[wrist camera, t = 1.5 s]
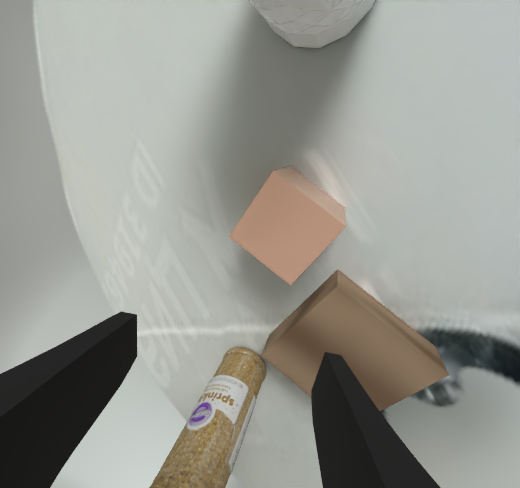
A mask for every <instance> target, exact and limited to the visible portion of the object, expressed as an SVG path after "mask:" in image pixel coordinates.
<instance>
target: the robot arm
mask: <svg viewBox="0 0 520 488" xmlns="http://www.w3.org/2000/svg"><path fill="white" fill-rule="evenodd" d="M136 357H137V315H136V314H131V313H125V312H120V313H118V314H116V315H114V316H112V317H110V318H108V319H106V320H104V321H103V322H101V323H99V324H97V325H95V326H93V327H92V328H90V329H88V330H86V331H85V332H83V333H81V334H79V335H77V336H75V337H73V338H71V339H70V340H67V341H66V342H64V343H62V344H60V345H58V346H56V347H54V348H52V349H50V350H48V351H46V352H44V353H42V354H40V355H38V356H36V357H34V358H33V359H30V360H28V361H26V362H24V363H22V364H20V365H18V366H16V367H14V368H12V369H10V370H8V371H6V372H3V373H2V374H0V488H50V487H51V485H52V483H53V482H54V480H55V479H56V477H57V475H58V474H59V472H60V471H61V469H62V467H63V466H64V464H65V463H66V461H67V460H68V459H69V457H70V456H71V454H72V453H73V451H74V450H75V448H76V447H77V446H78V444H79V443H80V441H81V440H82V439H83V437H84V436H85V435H86V433H87V432H88V430H89V429H90V428H91V426H92V425H93V423H94V422H95V421H96V419H97V418H98V416H99V415H100V414H101V412H102V411H103V409H104V408H105V407H106V405H107V404H108V402H109V401H110V399H111V398H112V397H113V395H114V394H115V392H116V391H117V390H118V388H119V387H120V385H121V384H122V382H123V380H124V378H125V377H126V375H127V373H128V372H129V370H130V368H131V366H132V364H133V363H134V361H135V359H136ZM311 396H312V416H313V426H314V433H315V439H316V446H317V452H318V459H319V465H320V471H321V478H322V484H323V488H440V487H439V486H438V485H437V483H436V482H435V481H434V480H433V479H432V477H431V476H430V475H429V474H428V473H427V471H426V470H425V469H424V468H423V467H422V465H421V464H420V463H419V462H418V461H417V459H416V458H415V457H414V456H413V454H412V453H411V452H410V451H409V449H408V448H407V447H406V445H405V444H404V443H403V442H402V440H401V439H400V438H399V436H398V435H397V434H396V433H395V431H394V430H393V429H392V427H391V426H390V425H389V423H388V422H387V421H386V419H385V418H384V417H383V415H382V414H381V412H380V411H379V410H378V408H377V407H376V405H375V404H374V403H373V401H372V400H371V398H370V397H369V395H368V394H367V393H366V391H365V390H364V388H363V387H362V385H361V384H360V382H359V381H358V379H357V378H356V376H355V375H354V373H353V372H352V370H351V369H350V367H349V366H348V364H347V363H346V361H345V360H344V359H343V357H342V356H341V355H338V354H333V353H328V352H325V353H324V356H323V359H322V362H321V365H320V367H319V370H318V373H317V376H316V379H315V382H314V384H313V387H312V390H311Z"/></svg>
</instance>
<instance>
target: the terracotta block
mask: <svg viewBox="0 0 520 488" xmlns="http://www.w3.org/2000/svg"><path fill="white" fill-rule="evenodd" d="M345 227H346V219H345V207H344V206H342V205H341V204H340V203H338V202H337V201H336V200H334V199H333V198H332V197H331V196H329V195H328V194H327V193H325V192H324V191H323V190H322V189H320V188H319V187H318V186H316V185H315V184H314V183H313V182H311V181H310V180H309V179H307V178H306V177H305V176H303V175H302V174H301V173H300V172H298V171H297V170H296V169H294V168H293V167H292V166H290V167H285V168H281V169H276V170H273V171H272V173H271V174H270V176H269V177H268V179H267V180H266V182H265V183H264V185H263V186H262V188H261V189H260V191H259V192H258V194H257V195H256V197H255V198H254V200H253V201H252V203H251V204H250V206H249V207H248V209H247V210H246V212H245V213H244V215H243V216H242V218H241V219H240V221H239V222H238V224H237V225H236V227H235V228H234V230H233V231H232V233H231V234H230V235H229V237H230V238H231V239H233V240H234V241H235V242H237V243H238V244H239V245H240V246H242V247H243V248H244V249H245V250H247V251H248V252H249V253H250V254H252V255H253V256H254V257H255V258H257V259H258V260H259V261H260V262H262V263H263V264H264V265H265V266H267V267H268V268H269V269H271V270H272V271H273V272H274V273H276V274H277V275H278V276H279V277H281V278H282V279H283V280H284V281H286V282H287V283H288V284H289V285H291V284H292V283H293V282H294V281H295V280H296V279H297V278H298V277H299V276H300V275H301V274H302V273H303V272H304V271H305V270H306V268H307V267H308V266H309V265H310V264H311V263H312V262H313V261H314V260H315V259H316V258H317V257H318V256H319V255H320V254H321V253H322V252H323V250H324V249H325V248H326V247H327V246H328V245H329V244H330V243H331V242H332V241H333V240H334V239H335V238H336V237H337V236H338V235H339V234H340V232H341V231H342V230H343V229H344V228H345Z"/></svg>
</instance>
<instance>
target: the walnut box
mask: <svg viewBox="0 0 520 488" xmlns="http://www.w3.org/2000/svg"><path fill="white" fill-rule="evenodd" d="M325 352H328V353H333V354H338V355H341V356H342V357H343V359H344V360H345V361H346V363H347V364H348V366H349V367H350V369H351V370H352V372H353V373H354V375H355V376H356V378H357V379H358V381H359V382H360V384H361V385H362V387H363V388H364V390H365V391H366V393H367V394H368V395H369V397H370V398H371V400H372V401H373V403H374V404H375V405H376V407H377V408H378V410H379V411H381V410H383V409H385V408H387V407H389V406H391V405H393V404H395V403H397V402H399V401H401V400H402V399H404V398H406V397H408V396H410V395H412V394H414V393H416V392H418V391H420V390H422V389H423V388H425V387H427V386H429V385H431V384H433V383H435V382H437V381H439V380H441V379H443V378H444V377H446V376H448V375H449V374H448V372H447V370H446V368H445V366H444V364H443V362H442V360H441V358H440V356H439V353H438V351H437V349H436V347H435V346H434V345H433V344H431V343H430V342H429V341H428V340H426V339H425V338H424V337H423V336H421V335H420V334H419V333H417V332H416V331H415V330H414V329H412V328H411V327H410V326H409V325H407V324H406V323H405V322H404V321H402V320H401V319H400V318H399V317H397V316H396V315H395V314H394V313H392V312H391V311H390V310H388V309H387V308H386V307H385V306H383V305H382V304H381V303H380V302H378V301H377V300H376V299H375V298H373V297H372V296H371V295H370V294H368V293H367V292H366V291H364V290H363V289H362V288H361V287H359V286H358V285H357V284H356V283H354V282H353V281H352V280H351V279H349V278H348V277H347V276H346V275H344V274H343V273H342V272H341V271H339V270H337V271H336V272H335V273H333V274H332V275H331V276H330V277H329V278H328V279H327V280H326V281H325V282H324V283H323V284H322V285H321V286H320V287H319V288H318V289H317V290H316V291H315V292H314V293H313V294H312V295H311V296H310V297H308V298H307V299H306V300H305V301H304V302H303V303H302V304H301V305H300V306H299V307H298V308H297V309H296V310H295V311H294V312H293V313H292V314H291V315H290V316H289V317H288V318H287V319H286V320H284V321H283V322H282V323H281V324H280V325H279V326H278V327H277V328H276V329H275V330H274V331H273V332H272V333H271V334H270V335H269V338H268V340H267V343H266V345H265V348H264V350H263V353H262V355H261V356H262V357H263V358H265V359H266V360H267V361H268V362H269V363H271V364H272V365H273V366H274V367H276V368H277V369H278V370H279V371H280V372H282V373H283V374H284V375H285V376H287V377H288V378H289V379H290V380H291V381H293V382H294V383H295V384H296V385H297V386H299V387H300V388H301V389H302V390H304V391H305V392H306V393H307V394H308V395H310V396H311V390H312V387H313V384H314V382H315V379H316V376H317V373H318V370H319V367H320V365H321V362H322V359H323V356H324V353H325ZM311 397H312V396H311Z"/></svg>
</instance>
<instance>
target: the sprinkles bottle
mask: <svg viewBox="0 0 520 488" xmlns="http://www.w3.org/2000/svg"><path fill="white" fill-rule="evenodd" d="M265 376H266V368H265V364H264V362H263V360H262V359H261V358H260V357H259V356H258V355H257V354H256V353H254V352H253V351H251V350H249V349H246V348H239V347H237V348H232V349H230V350H229V351H227V353H226V354H225V356H224V358H223V361H222V363H221V365H220V366H219V368H218V370H217V372H216V374H215V375H214V377H213V378H212V379H211V381H210V382H209V384H208V386H207V387H206V389H205V391H204V392H203V394H202V396H201V398H200V399H199V401H198V403H197V405H196V406H195V408H194V410H193V412H192V415H191V417H190V418H189V420H188V422H187V423H186V426H185V427H184V429H183V430H182V432H181V434H180V436H179V438H178V439H177V441H176V443H175V444H174V447H173V448H172V450H171V451H170V453H169V455H168V457H167V458H166V460H165V462H164V464H163V466H162V468H161V470H160V471H159V473H158V475H157V476H156V478H155V479H154V481H153V484H152V485H151V486H150V488H225V486H226V484H227V481H228V478H229V476H230V475H231V472H232V470H233V467H234V464H235V461H236V458H237V455H238V453H239V450H240V447H241V444H242V441H243V438H244V435H245V432H246V429H247V427H248V424H249V421H250V418H251V415H252V412H253V409H254V406H255V402H256V398H257V395H258V392H259V390H260V387H261V384H262V382H263V380H264V378H265Z"/></svg>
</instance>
